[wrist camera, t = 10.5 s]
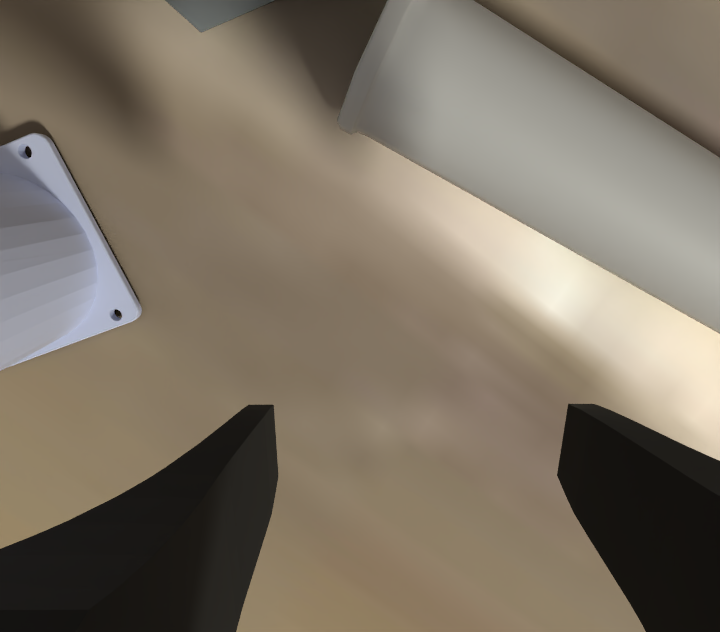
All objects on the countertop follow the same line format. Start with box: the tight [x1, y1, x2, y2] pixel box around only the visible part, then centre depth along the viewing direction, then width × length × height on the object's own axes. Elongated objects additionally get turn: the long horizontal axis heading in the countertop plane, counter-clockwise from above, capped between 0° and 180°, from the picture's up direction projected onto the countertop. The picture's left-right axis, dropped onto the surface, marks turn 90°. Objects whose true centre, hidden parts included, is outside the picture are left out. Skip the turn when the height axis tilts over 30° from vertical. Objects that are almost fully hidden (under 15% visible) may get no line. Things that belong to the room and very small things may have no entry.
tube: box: [337, 0, 720, 333], centre depth 17 cm, size 5×5×25 cm
